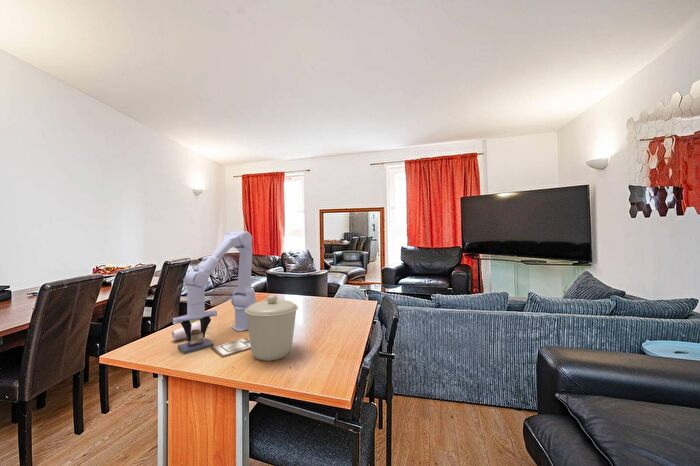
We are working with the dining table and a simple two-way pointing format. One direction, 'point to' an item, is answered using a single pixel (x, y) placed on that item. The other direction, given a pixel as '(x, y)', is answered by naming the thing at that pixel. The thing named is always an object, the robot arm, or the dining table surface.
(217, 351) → the clipboard
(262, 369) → the dining table surface
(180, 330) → the smoothie
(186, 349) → the ink tray
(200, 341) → the stamp
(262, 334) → the canister
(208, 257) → the robot arm
